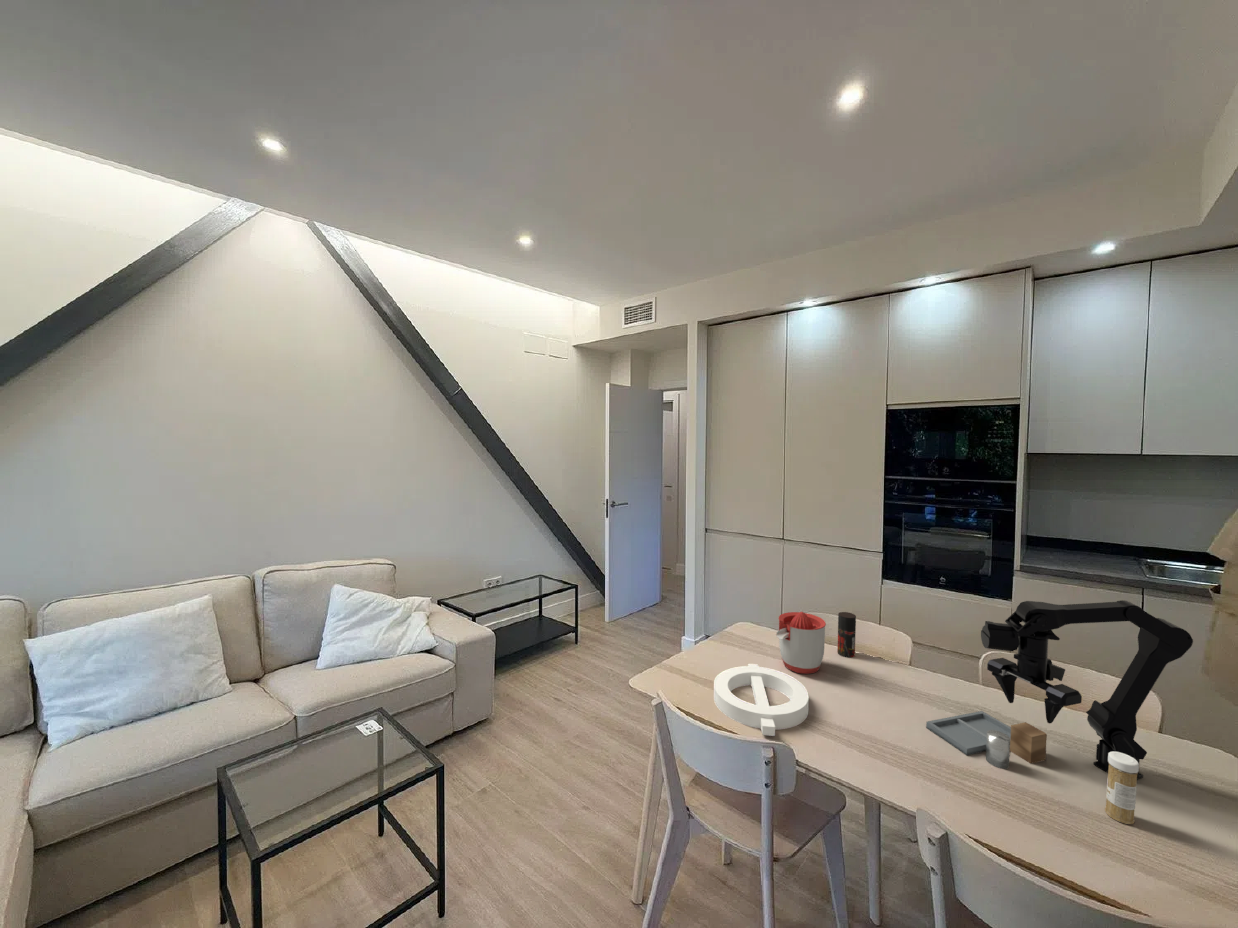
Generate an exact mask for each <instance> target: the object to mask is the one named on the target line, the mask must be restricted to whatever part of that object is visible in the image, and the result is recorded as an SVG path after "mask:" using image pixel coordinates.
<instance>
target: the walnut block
mask: <svg viewBox="0 0 1238 928" xmlns="http://www.w3.org/2000/svg"><path fill="white" fill-rule="evenodd" d="M1010 727H1011V738H1010V753H1013V754H1014V755H1015V756H1017V757H1019V758H1021V759H1022V760H1024V761H1025V762H1027V763H1029V764H1030V765H1031V764H1034V763H1035V764H1036V763H1039V762H1040V763H1041V762H1043V761H1046V756H1047V753H1046V752H1047V739H1048V738H1047V737H1048V733H1046V732H1044V731H1042V730H1041V729H1039V728H1037V727H1035V726H1033V725H1032V724H1030V723H1029V722H1020V723H1016V724H1012V725H1010Z"/></svg>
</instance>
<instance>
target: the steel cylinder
mask: <svg viewBox="0 0 1238 928" xmlns="http://www.w3.org/2000/svg"><path fill="white" fill-rule="evenodd" d="M1010 753H1011V751H1010V737H1009V736H1008V735H1006V734H1004V733H1002V732H1000V731H996V730H989V731H987V744H986V751H985V760H986V762H987V763H988V764H990V765H992V766H993V767H995V768H998V769H1003V770H1007V769H1009V768H1010V758H1011V757H1010V755H1011V754H1010Z"/></svg>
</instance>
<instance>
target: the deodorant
mask: <svg viewBox="0 0 1238 928" xmlns="http://www.w3.org/2000/svg"><path fill="white" fill-rule="evenodd" d="M837 615H838V616H837V619H838V620H837V655H839V656H841V657H843V658H847V659H848V658H849V659H850V658H851V659H852V658H855V657H856V633H857V632H856V629H857V615H856V614H855V613H852V612H848V611H840V612H838V614H837Z"/></svg>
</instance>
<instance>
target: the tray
mask: <svg viewBox="0 0 1238 928" xmlns="http://www.w3.org/2000/svg"><path fill="white" fill-rule="evenodd" d="M925 724H926V726H925V728H926V729H927V730H929V731H930V732H932V733H933V734H934V735H936V736H937V737H939V738H940V739H941V740H943V741H945V742H946V743H947V744H949V745H951V746H952V747H953V748H955V749H957V750H958V751H960V752H961V753H962V754H963V755H966V756H969V755H970V756H971V755H976V754H979V753H984V752H986V744H987V731H989V730H996V731H1000V732H1002V733H1004V734H1006V735H1008V736H1009V737H1010V738H1011V726H1009V725H1007V724H1006V723H1004V722H1002V721H1000V720H999V719H997V718H996V717H993V716H992V715H990V714H988V713H987V712H985V711H984V710H979V711H975V712H969V713H963V714H959V715H954V716H949V717H948V716H947V717H943V718H938V719H933V720H928V721H926V723H925Z"/></svg>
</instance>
